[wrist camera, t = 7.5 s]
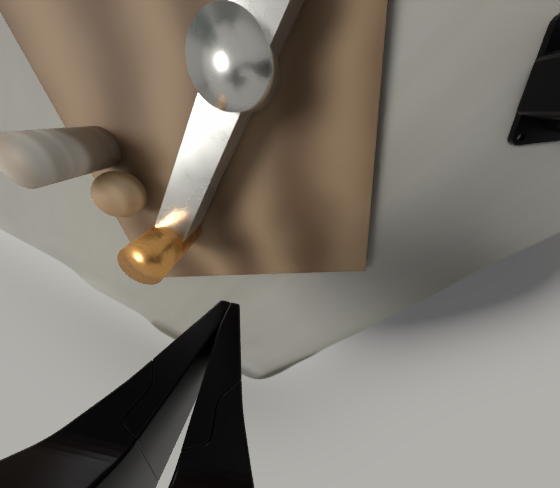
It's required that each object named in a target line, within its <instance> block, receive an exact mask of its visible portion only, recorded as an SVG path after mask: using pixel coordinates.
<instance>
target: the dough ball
mask: <svg viewBox="0 0 560 488" xmlns="http://www.w3.org/2000/svg"><path fill="white" fill-rule="evenodd" d="M91 197H92V199H93V201H94V203H95V204H96V206H97V207H98V208H99V209H100V210H102V211H103V212H105V213H106V214H109V215H111V216H115V217H130V216H133V215H136V214H138V213H139V212H140V211H141V210H142V209H143V208H144V207H145V205H146V202H147V192H146V189H145V187H144V185H143V184H142V183H141V182H140V180H138V179H137V178H136V177H135V176H133V175H131V174H129V173H126V172H122V171H108V172H105V173H102V174H101V175H99V176H98V177H97V178H96V179H95V180H94V181H93V183H92V185H91Z"/></svg>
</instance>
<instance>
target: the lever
mask: <svg viewBox="0 0 560 488" xmlns="http://www.w3.org/2000/svg"><path fill="white" fill-rule="evenodd" d="M304 1H305V0H228V1H227V0H219V1H214V2H211V3H209V4H207V5H205V6H204V7H203V8H201V9H200V10H199V11H198V12H197V14H196V15H195V16H194V18H193V20H192V22H191V24H190V26H189V29H188V32H187V36H186V43H185V57H186V64H187V69H188V72H189V75H190V78H191V80H192V83H193V84H194V86H195V88H196V90H197V91H198V95H197V98H196V101H195V104H194V107H193V110H192V113H191V116H190V119H189V122H188V125H187V128H186V131H185V134H184V137H183V141H182V144H181V147H180V150H179V153H178V156H177V159H176V162H175V165H174V168H173V171H172V174H171V177H170V180H169V184H168V187H167V190H166V193H165V196H164V199H163V202H162V205H161V208H160V211H159V214H158V217H157V220H156V223H155V225H154V226H153V227H152V228H150V229H149V230H148V231H146V232H145V233H144V234H142V235H141V236H139V237H138V238H137V239H135V240H134V241H133V242H131V243H130V244H129V245H127V246H126V247H125V248H123V249H122V250H121V251H120V252H119V253H118V263H119V265H120V267H121V269H122V270H123V271H124V272H125V273H126V274H127V275H128V276H129V277H130V278H132V279H134V280H135V281H138V282H140V283H143V284H150V285H151V284H157V283H159V282H160V281H161V280H162V279H163V278H164V277H165V276H166V275H167V273H168V272H169V271H170V270H171V269H172V268H173V267H174V265H175V264H176V263H177V262H178V261H179V260H180V259H181V257H182V256H183V255H184V254H185V253H186V252H187V251H188V249H189V248H190V247H191V246H192V245H193V244H194V243H195V241H196V240H197V239H198V238H199V237H200V234H201V228H200V224H201V222H202V220H203V218H204V215H205V213H206V211H207V209H208V207H209V205H210V203H211V200H212V198H213V196H214V194H215V192H216V190H217V188H218V185H219V183H220V181H221V179H222V177H223V175H224V173H225V170H226V168H227V166H228V164H229V162H230V160H231V158H232V155H233V153H234V151H235V149H236V147H237V145H238V143H239V140H240V138H241V136H242V134H243V132H244V130H245V128H246V125H247V123H248V121H249V119H250V117H251V115H252V113H253V112H256V111H259V110H261V109H263V108H265V107H266V106H267V105H268V104H269V103H270V102H271V101H272V99H273V98H274V96H275V94H276V92H277V89H278V86H279V80H280V68H279V62H278V57H279V55H280V53H281V50H282V48H283V46H284V44H285V42H286V40H287V38H288V35H289V33H290V31H291V29H292V27H293V25H294V23H295V20H296V18H297V16H298V14H299V12H300V10H301V8H302V5H303V3H304Z"/></svg>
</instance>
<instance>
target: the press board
mask: <svg viewBox="0 0 560 488" xmlns="http://www.w3.org/2000/svg"><path fill="white" fill-rule="evenodd" d="M214 1H219V0H0V12H1V14H2V15H3V17H4V19H5V21H6V23H7V24H8V26H9V28H10V30H11V31H12V33H13V35H14V37H15V38H16V40H17V42H18V44H19V46H20V47H21V49H22V51H23V53H24V54H25V56H26V58H27V60H28V62H29V63H30V65H31V67H32V69H33V70H34V72H35V74H36V76H37V78H38V79H39V81H40V83H41V85H42V86H43V88H44V90H45V92H46V93H47V95H48V97H49V99H50V101H51V102H52V104H53V106H54V108H55V109H56V111H57V113H58V115H59V117H60V118H61V120H62V122H63V124H64V125H65V127H66V128H54V129H39V130H25V131H10V132H0V171H1V172H2V173H3V174H4V175H5V176H6V177H8V178H9V179H10V180H12V181H13V182H15V183H16V184H18V185H20V186H23V187H26V188H30V189H36V188H40V187H43V186H47V185H50V184H54V183H57V182H61V181H64V180H68V179H71V178H75V177H78V176H82V175H86V174H89V173H92V175H93V177H94V179H96V178H97V177H98V176H99V175H101V174H102V173H105V172H108V171H122V172H126V173H129V174H131V175H133V176H135V177H136V178H137V179H138V180H140V182H141V183H142V184H143V185H144V187H145V189H146V192H147V202H146V205H145V207H144V208H143V209H142V210H141V211H140V212H139V213H138V214H136V215H133V216H130V217H116V218H117V219H118V221H119V223H120V225H121V226H122V228H123V230H124V232H125V234H126V235H127V237H128V239H129V241H130V242H133V241H134V240H135V239H137V238H138V237H139V236H141V235H142V234H144V233H145V232H146V231H148V230H149V229H150V228H152V227H153V226H154V225H155V223H156V220H157V217H158V214H159V211H160V208H161V205H162V202H163V199H164V196H165V193H166V190H167V187H168V184H169V180H170V177H171V174H172V171H173V168H174V165H175V162H176V159H177V156H178V153H179V150H180V147H181V144H182V141H183V137H184V134H185V131H186V128H187V125H188V122H189V119H190V116H191V113H192V110H193V107H194V104H195V101H196V98H197V95H198V91H197V90H196V88H195V86H194V84H193V83H192V80H191V78H190V75H189V72H188V69H187V64H186V57H185V43H186V36H187V32H188V29H189V26H190V24H191V22H192V20H193V18H194V16H195V15H196V14H197V12H198V11H199V10H200V9H201V8H203V7H204V6H205V5H207V4H209V3H211V2H214ZM227 1H228V0H227ZM387 3H388V0H305V1H304V3H303V5H302V8H301V10H300V12H299V14H298V16H297V18H296V20H295V23H294V25H293V27H292V29H291V31H290V33H289V35H288V38H287V40H286V42H285V44H284V46H283V48H282V50H281V53H280V55H279V57H278V62H279V68H280V80H279V86H278V89H277V92H276V94H275V96H274V98H273V99H272V101H271V102H270V103H269V104H268V105H267V106H266V107H265V108H263V109H261V110H259V111H256V112H253V113H252V115H251V117H250V119H249V121H248V123H247V125H246V128H245V130H244V132H243V134H242V136H241V138H240V140H239V143H238V145H237V147H236V149H235V151H234V153H233V155H232V158H231V160H230V162H229V164H228V166H227V168H226V170H225V173H224V175H223V177H222V179H221V181H220V183H219V185H218V188H217V190H216V192H215V194H214V196H213V198H212V200H211V203H210V205H209V207H208V209H207V211H206V213H205V215H204V218H203V220H202V222H201V224H200V228H201V234H200V237H199V238H198V239H197V240H196V241H195V243H194V244H193V245H192V246H191V247H190V248H189V249H188V251H187V252H186V253H185V254H184V255H183V256H182V257H181V259H180V260H179V261H178V262H177V263H176V264H175V265H174V267H173V268H172V269H171V270H170V271H169V272H168V273H167V275H166V276H165V277H183V276H214V275H246V274H277V273H308V272H339V271H365V269H366V257H367V245H368V233H369V221H370V208H371V196H372V184H373V172H374V160H375V148H376V136H377V124H378V112H379V99H380V87H381V75H382V63H383V51H384V39H385V27H386V15H387Z"/></svg>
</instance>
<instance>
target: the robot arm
mask: <svg viewBox="0 0 560 488" xmlns="http://www.w3.org/2000/svg"><path fill="white" fill-rule="evenodd" d="M520 133H522V134H521V137H520V138H519V139H518V140H517V137H518V135H519V134H520ZM558 140H560V13H559V14H558V15H556V16H555V17H554V18H553V19H552V21H551V22H550V24H549V26H548V28H547V31H546V34H545V37H544V39H543V42H542V45H541V48H540V50H539V53H538V56H537V59H536V61H535V63H534V65H533V68H532V71H531V74H530V76H529V79H528V82H527V85H526V87H525V90H524V93H523V96H522V98H521V101H520V104H519V107H518V110H517V114H516V117H515V120H514V122H513V125H512V128H511V131H510V133H509V136H508V142H509V143H510V144H514V145H523V144H532V143H541V142H549V141H558ZM197 396H198V397H197ZM196 398H197V400H196ZM195 400H196V403H195ZM194 403H195V406H194V410H193V413H192V416H191V420H190V423H189V426H188V430H187V433H186V436H185V440H184V443H183V447H182V449H181V453H180V457H179V459H178V463H177V466H176V469H175V471H174V474H173V477H172V480H171V482H170V485H169V487H168V488H254V484H253V478H252V471H251V465H250V458H249V452H248V445H247V438H246V431H245V423H244V415H243V404H242V382H241V343H240V306H239V304H236V303H230V302H227V301H220V302H219V303H218V304H216V305H215V306H214V307H213V308H212V309H211V310H209V311H208V312H207V313H206V314H205V315H204V316H203V317H201V318H200V319H199V320H198V321H197V322H196V323H194V324H193V325H192V326H191V327H190V328H189V329H187V330H186V331H185V332H184V333H183V334H182V335H180V336H179V337H178V338H177V339H176V340H175V341H173V342H172V343H171V344H170V345H169V346H168V347H167V348H166V349H164V350H163V351H162V352H161V353H159V354H158V355H157V356H156V357H155V358H154V359H153V361H150V362H149V363H148V364H147V365H145V366H144V367H143V368H142V369H141V370H140V371H138V372H137V373H136V374H135V375H133V376H132V377H131V378H130V379H129V380H127V381H126V382H125V383H123V384H122V385H121V386H119V387H118V388H117V389H115V390H114V391H113V392H111V393H110V394H109V395H107V396H106V397H105V398H103V399H102V400H100V401H99V402H98V403H96V404H95V405H94V406H92V407H91V408H89V409H88V410H87V411H85V412H84V413H83V414H81V415H80V416H78V417H77V418H76V419H74V420H73V421H72V422H70V423H69V424H67V425H66V426H65V427H63V428H62V429H60V430H59V431H57V432H56V433H54V434H53V435H51V436H49V437H48V438H46V439H44V440H42V441H40V442H39V443H37V444H35V445H33V446H31V447H29V448H26V449H24V450H22V451H20V452H17V453H15V454H13V455H11V456H9V457H7V458H4V459H2V460H0V488H155V487H156V486H157V483H158V480H159V479H160V477H161V475H162V472H163V470H164V468H165V466H166V464H167V462H168V459H169V457H170V455H171V453H172V451H173V448H174V446H175V444H176V442H177V440H178V438H179V435H180V433H181V431H182V428H183V427H184V424H185V422H186V420H187V418H188V416H189V413H190V411H191V409H192V407H193V405H194Z"/></svg>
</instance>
